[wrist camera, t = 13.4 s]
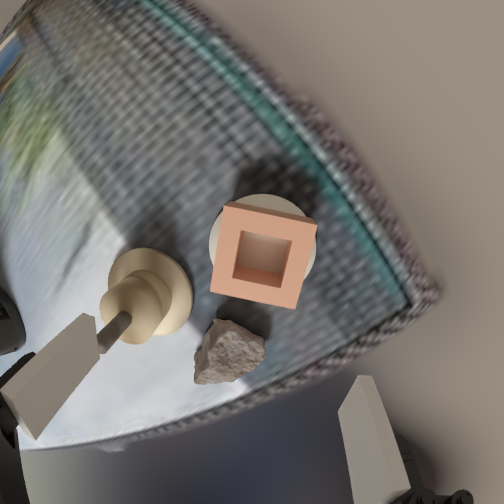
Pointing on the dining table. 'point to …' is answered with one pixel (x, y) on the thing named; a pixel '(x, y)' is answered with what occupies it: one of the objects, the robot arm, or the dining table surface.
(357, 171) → the dining table surface
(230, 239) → the link
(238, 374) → the stone
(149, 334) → the stand
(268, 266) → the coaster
